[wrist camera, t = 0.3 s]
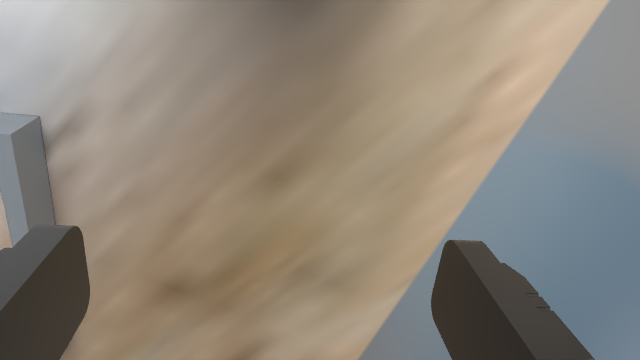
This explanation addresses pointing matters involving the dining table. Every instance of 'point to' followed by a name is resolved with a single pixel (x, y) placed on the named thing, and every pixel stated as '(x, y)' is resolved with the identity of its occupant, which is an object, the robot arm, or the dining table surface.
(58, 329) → the robot arm
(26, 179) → the frame
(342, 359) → the dining table surface
